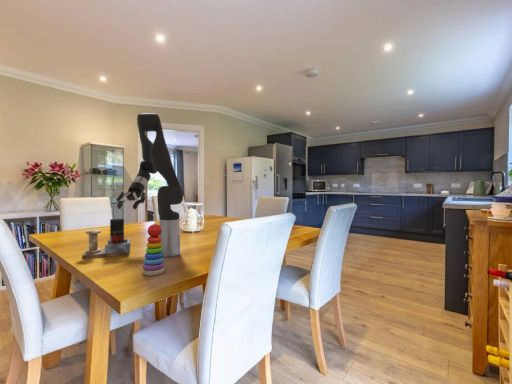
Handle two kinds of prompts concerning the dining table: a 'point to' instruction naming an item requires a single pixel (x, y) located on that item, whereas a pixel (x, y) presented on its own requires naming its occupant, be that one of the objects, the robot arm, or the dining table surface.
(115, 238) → the deodorant
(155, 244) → the stacking toy
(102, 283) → the dining table surface
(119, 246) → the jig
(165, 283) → the dining table surface
